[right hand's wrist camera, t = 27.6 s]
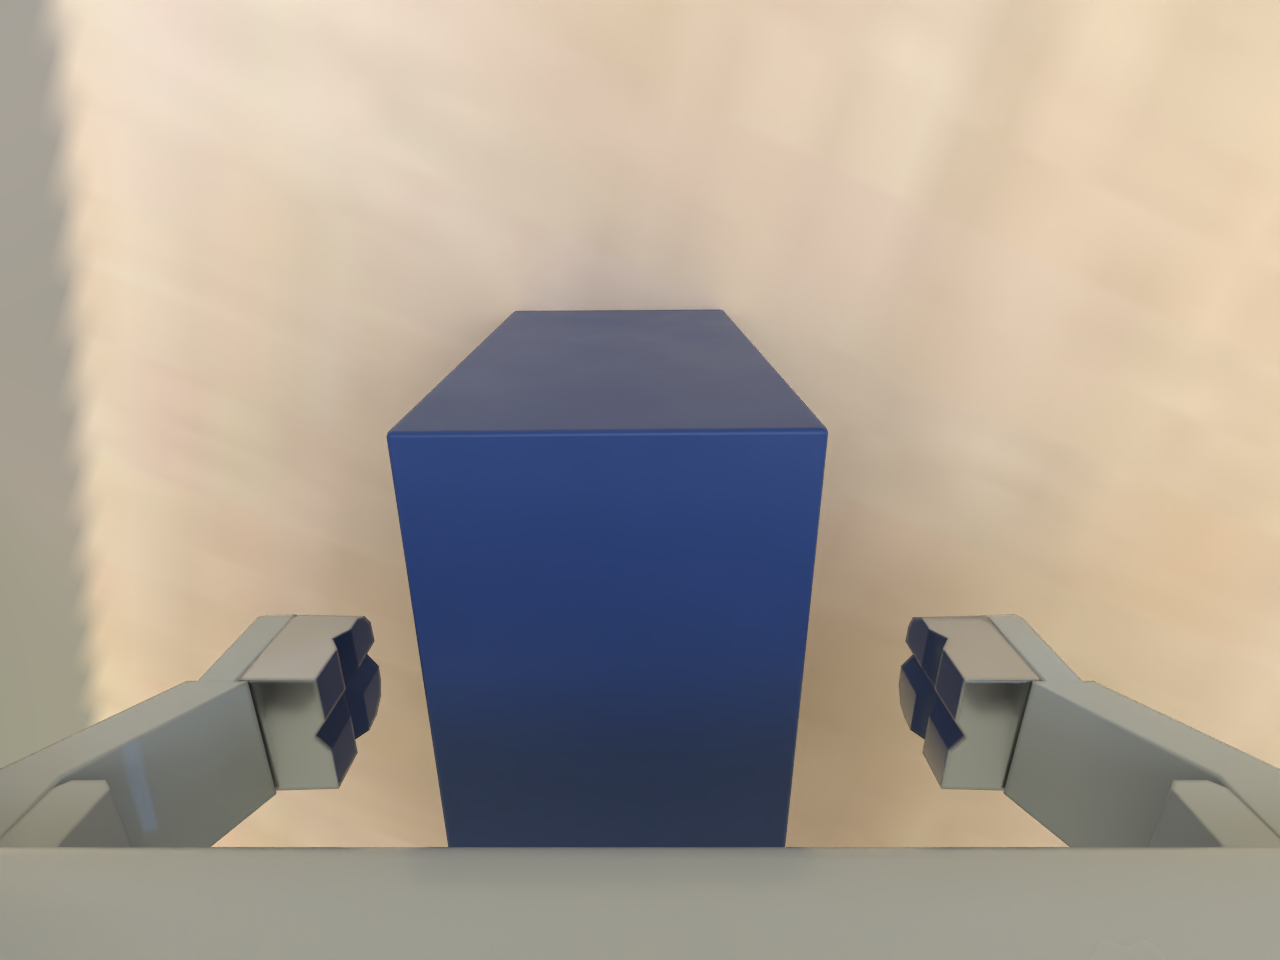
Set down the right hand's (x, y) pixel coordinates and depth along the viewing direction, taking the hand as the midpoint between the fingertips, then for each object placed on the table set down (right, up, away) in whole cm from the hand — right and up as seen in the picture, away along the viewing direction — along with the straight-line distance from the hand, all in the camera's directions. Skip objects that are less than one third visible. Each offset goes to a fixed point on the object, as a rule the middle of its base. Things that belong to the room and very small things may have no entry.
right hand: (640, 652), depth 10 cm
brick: (0, +3, +7) cm, 8 cm away
